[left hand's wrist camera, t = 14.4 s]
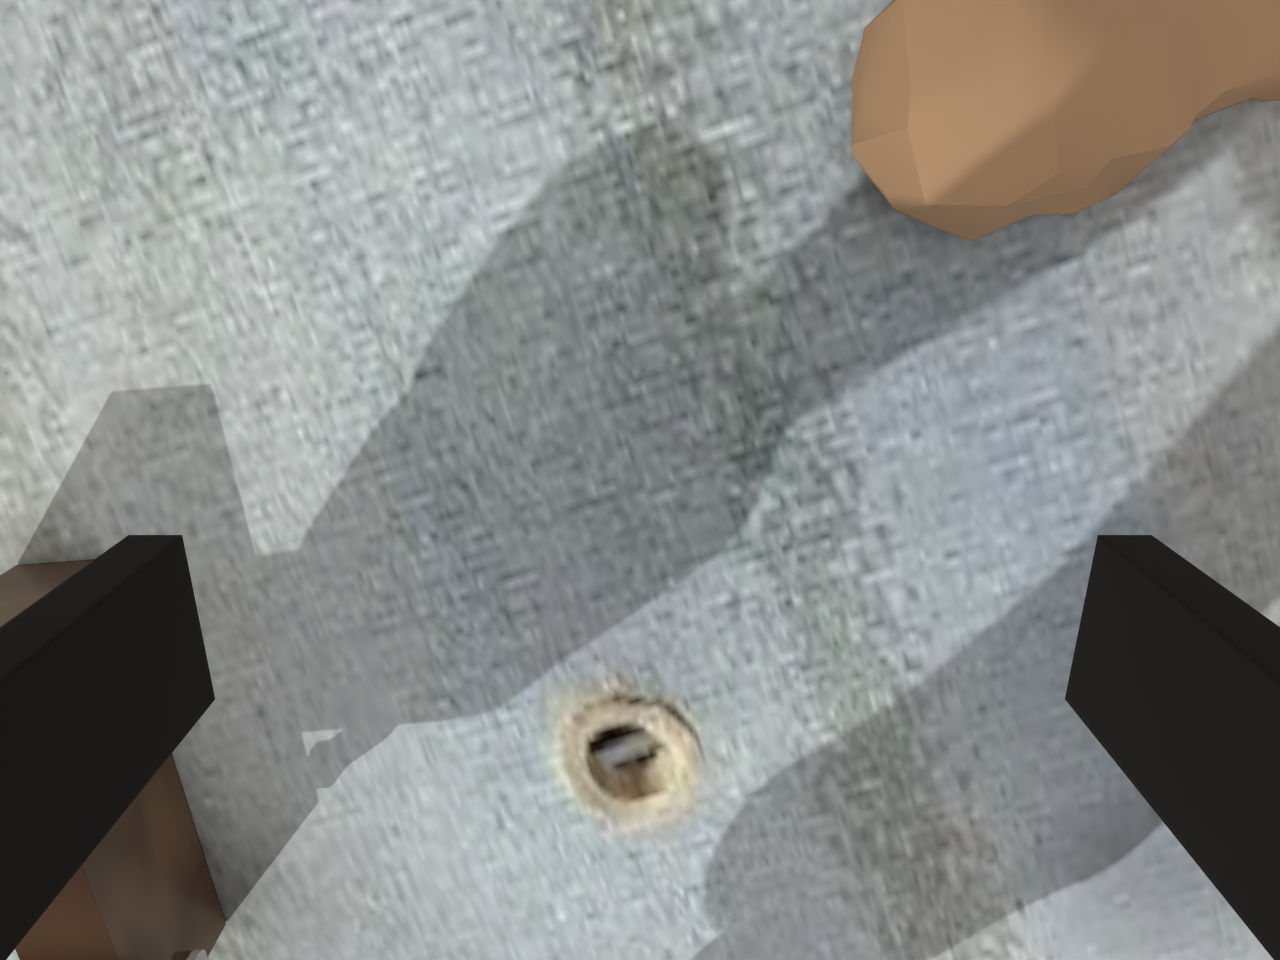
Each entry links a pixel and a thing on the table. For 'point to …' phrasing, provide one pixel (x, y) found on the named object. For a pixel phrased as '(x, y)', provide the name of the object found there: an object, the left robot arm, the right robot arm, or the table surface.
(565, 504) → the table surface
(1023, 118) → the squash
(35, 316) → the table surface
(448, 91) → the table surface
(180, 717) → the left robot arm
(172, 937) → the bar
